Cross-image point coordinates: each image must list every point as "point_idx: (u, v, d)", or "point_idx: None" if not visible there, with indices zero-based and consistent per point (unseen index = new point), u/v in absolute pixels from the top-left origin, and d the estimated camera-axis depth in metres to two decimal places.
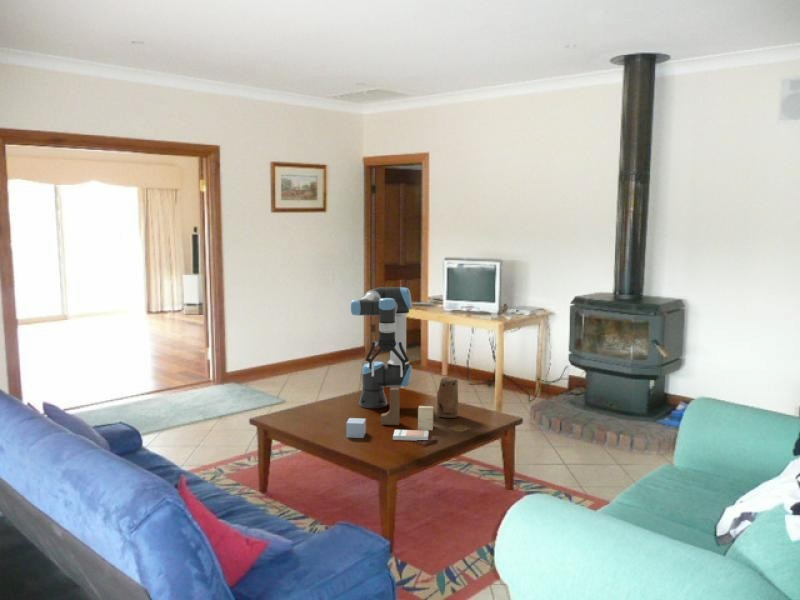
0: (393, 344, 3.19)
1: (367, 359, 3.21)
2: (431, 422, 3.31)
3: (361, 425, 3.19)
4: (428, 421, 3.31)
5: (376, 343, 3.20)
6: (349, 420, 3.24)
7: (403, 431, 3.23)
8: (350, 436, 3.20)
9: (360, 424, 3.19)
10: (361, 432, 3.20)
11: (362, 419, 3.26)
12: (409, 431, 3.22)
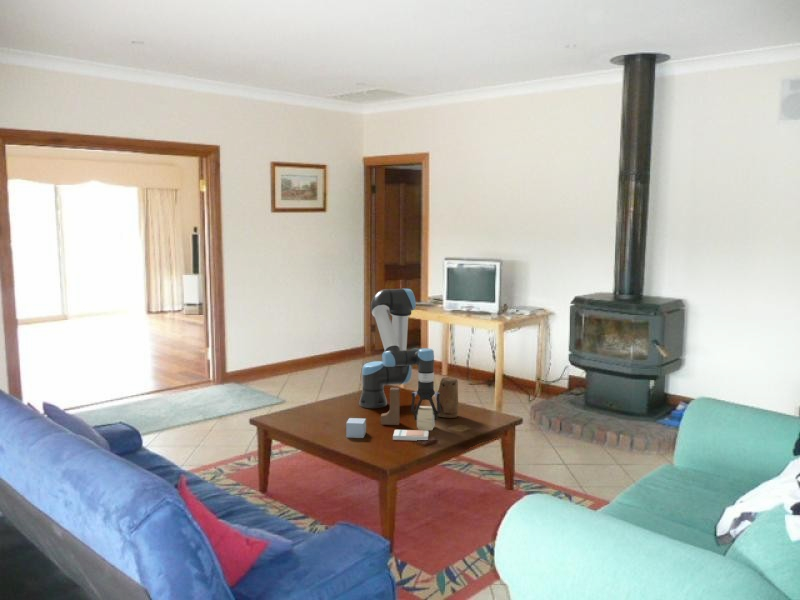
0: (432, 393, 3.31)
1: (412, 410, 3.33)
2: (431, 422, 3.31)
3: (361, 425, 3.19)
4: (428, 421, 3.31)
5: (415, 393, 3.33)
6: (349, 420, 3.24)
7: (403, 431, 3.23)
8: (350, 436, 3.20)
9: (360, 424, 3.19)
10: (361, 432, 3.20)
11: (362, 419, 3.26)
12: (409, 431, 3.22)
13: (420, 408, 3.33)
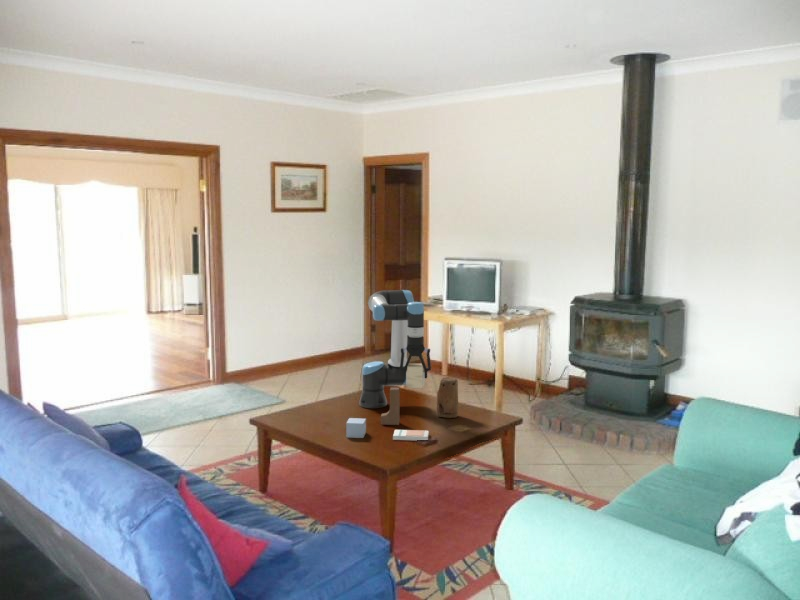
0: (422, 349, 3.14)
1: (401, 368, 3.16)
2: (421, 379, 3.13)
3: (361, 425, 3.19)
4: (418, 379, 3.13)
5: (404, 349, 3.15)
6: (349, 420, 3.24)
7: (403, 431, 3.23)
8: (350, 436, 3.20)
9: (360, 424, 3.19)
10: (361, 432, 3.20)
11: (362, 419, 3.26)
12: (409, 431, 3.22)
13: (409, 365, 3.15)
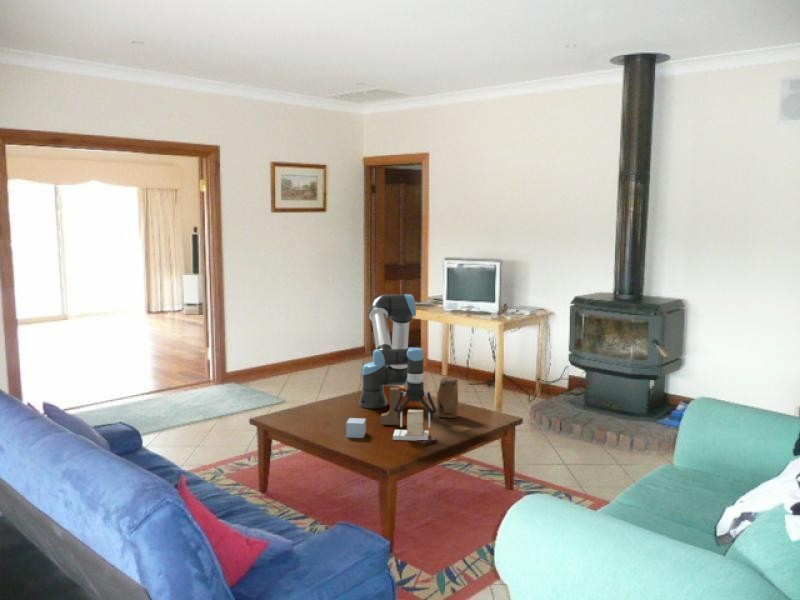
0: (421, 394, 3.17)
1: (396, 409, 3.19)
2: (421, 427, 3.16)
3: (361, 425, 3.19)
4: (418, 426, 3.16)
5: (404, 393, 3.18)
6: (349, 420, 3.24)
7: (403, 431, 3.23)
8: (350, 436, 3.20)
9: (360, 424, 3.19)
10: (361, 432, 3.20)
11: (362, 419, 3.26)
12: None
13: (409, 412, 3.18)
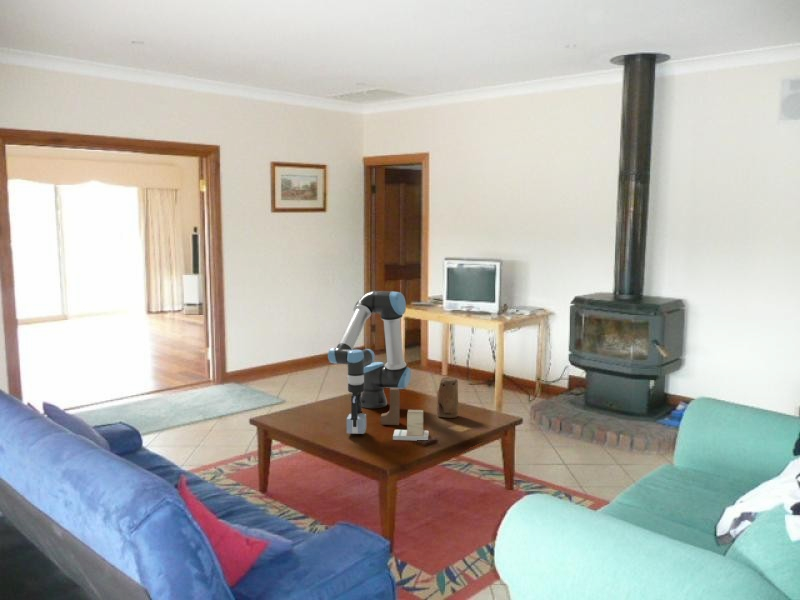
0: (352, 397, 3.19)
1: None
2: (421, 427, 3.16)
3: (361, 421, 3.19)
4: (418, 426, 3.16)
5: None
6: (349, 416, 3.24)
7: (403, 431, 3.23)
8: (350, 432, 3.21)
9: (360, 420, 3.19)
10: (361, 428, 3.20)
11: (363, 414, 3.26)
12: None
13: (409, 412, 3.18)
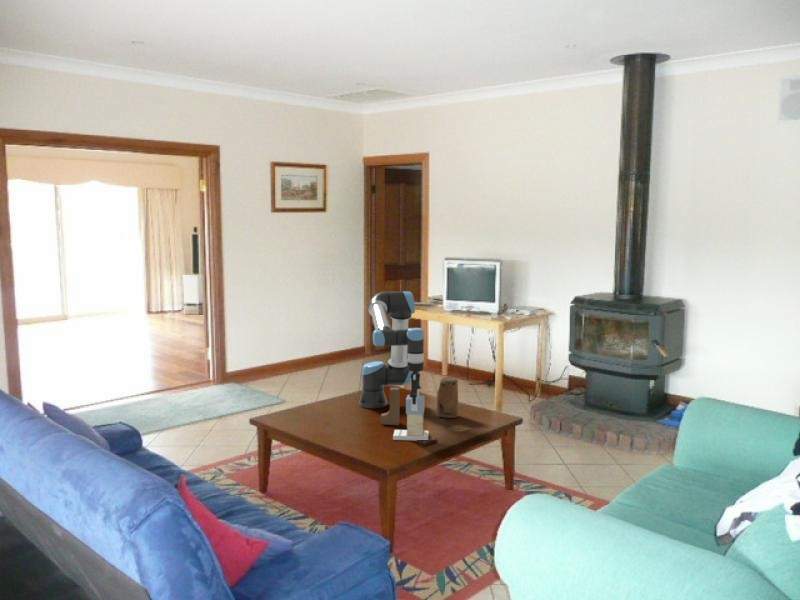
0: None
1: None
2: (421, 427, 3.16)
3: (421, 401, 3.14)
4: (418, 426, 3.16)
5: None
6: (408, 397, 3.19)
7: (403, 431, 3.23)
8: (410, 413, 3.15)
9: (420, 400, 3.14)
10: (421, 408, 3.14)
11: (421, 395, 3.21)
12: None
13: None
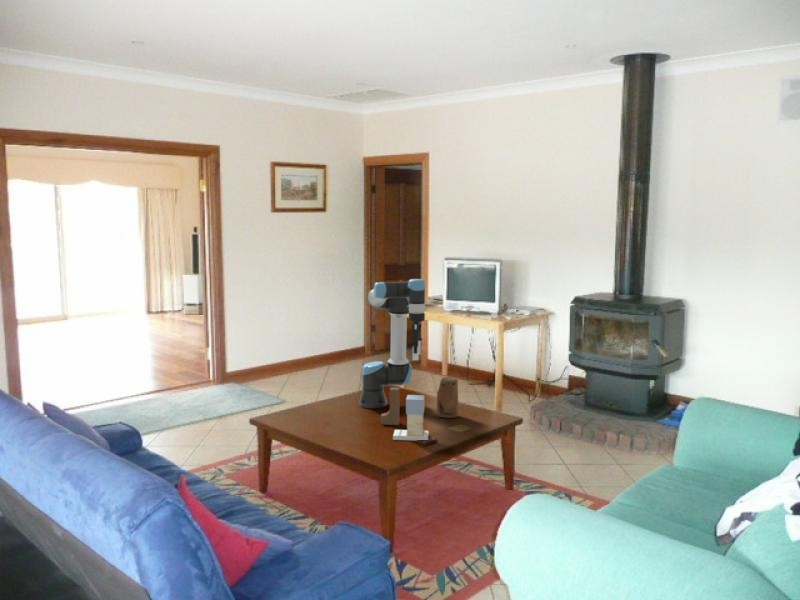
0: None
1: None
2: (421, 427, 3.16)
3: (421, 401, 3.14)
4: (418, 426, 3.16)
5: None
6: (408, 397, 3.19)
7: (403, 431, 3.23)
8: (410, 413, 3.15)
9: (420, 400, 3.14)
10: (421, 408, 3.14)
11: (421, 395, 3.21)
12: None
13: None
